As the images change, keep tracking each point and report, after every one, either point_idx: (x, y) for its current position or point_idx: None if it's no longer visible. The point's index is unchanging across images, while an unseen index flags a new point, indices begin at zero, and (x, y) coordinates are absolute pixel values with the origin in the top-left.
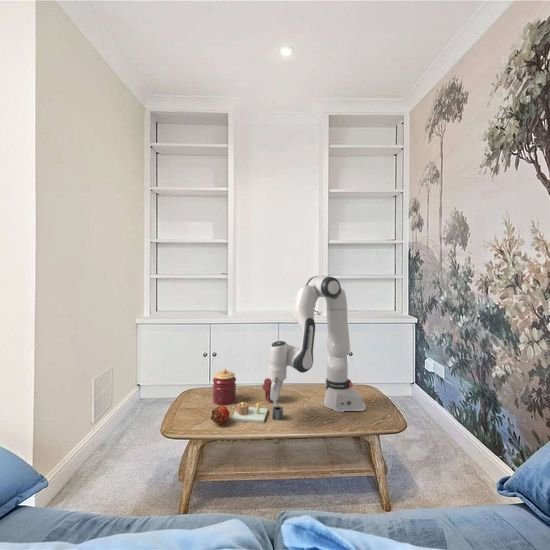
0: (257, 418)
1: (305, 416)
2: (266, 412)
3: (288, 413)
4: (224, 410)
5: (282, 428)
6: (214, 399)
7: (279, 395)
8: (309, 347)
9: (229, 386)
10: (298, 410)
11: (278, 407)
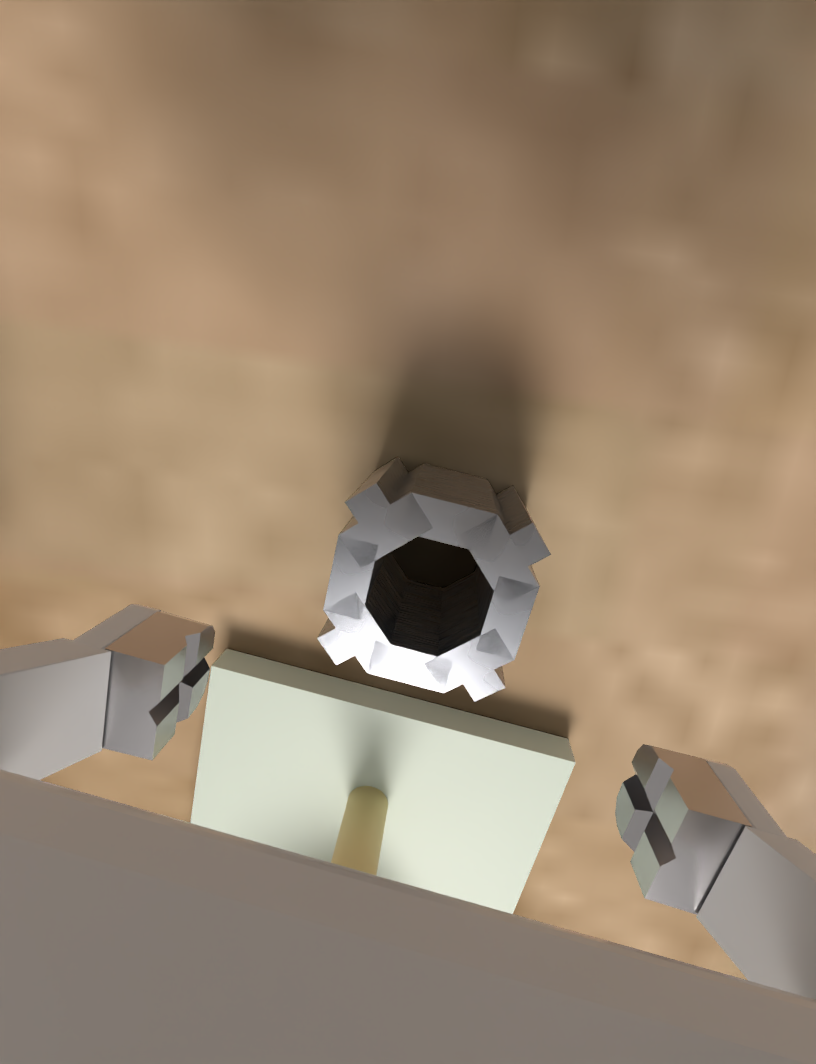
0: (505, 824)
1: (444, 16)
2: (336, 698)
3: (313, 353)
4: None
5: (786, 519)
6: None
7: (116, 626)
8: None
9: None
10: (200, 139)
11: (370, 575)
